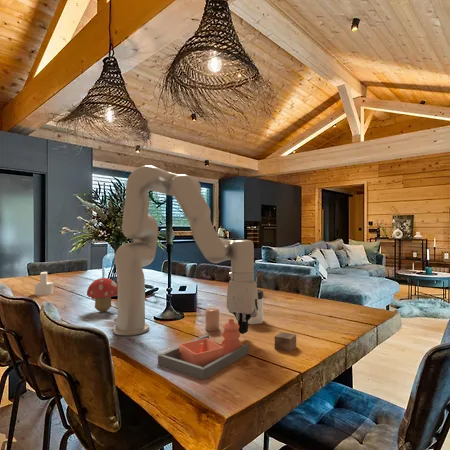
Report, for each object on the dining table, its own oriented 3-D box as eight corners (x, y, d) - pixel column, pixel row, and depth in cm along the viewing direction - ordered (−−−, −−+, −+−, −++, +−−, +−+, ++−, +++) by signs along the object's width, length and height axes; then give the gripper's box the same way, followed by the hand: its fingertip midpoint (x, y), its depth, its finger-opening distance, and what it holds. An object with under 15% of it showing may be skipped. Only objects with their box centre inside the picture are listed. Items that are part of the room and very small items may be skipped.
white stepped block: (35, 293, 190) (35, 272, 190) (53, 291, 193) (53, 271, 193) (33, 296, 181) (33, 274, 181) (52, 294, 185) (52, 273, 185)
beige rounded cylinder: (202, 329, 120) (202, 310, 120) (211, 326, 124) (211, 307, 124) (213, 332, 117) (213, 312, 117) (221, 328, 121) (221, 309, 121)
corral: (157, 364, 89) (157, 355, 89) (206, 342, 106) (206, 334, 106) (203, 379, 80) (203, 369, 80) (248, 353, 97) (248, 344, 97)
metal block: (274, 349, 100) (274, 336, 100) (281, 344, 105) (281, 331, 105) (290, 352, 98) (290, 339, 98) (296, 347, 102) (296, 334, 102)
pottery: (195, 371, 86) (195, 333, 86) (179, 359, 93) (179, 324, 94) (250, 355, 96) (249, 321, 96) (231, 346, 103) (231, 314, 103)
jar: (268, 321, 130) (268, 290, 130) (255, 325, 124) (255, 293, 124) (250, 317, 136) (250, 288, 136) (237, 321, 130) (237, 290, 130)
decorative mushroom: (105, 306, 155) (105, 275, 155) (125, 310, 148) (125, 277, 148) (80, 313, 144) (80, 278, 144) (100, 317, 137) (100, 281, 137)
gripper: (217, 276, 111) (218, 331, 111) (256, 280, 102) (256, 340, 102) (230, 274, 117) (231, 326, 117) (268, 277, 108) (268, 333, 108)
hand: (243, 332), depth 109 cm, fingers closed
